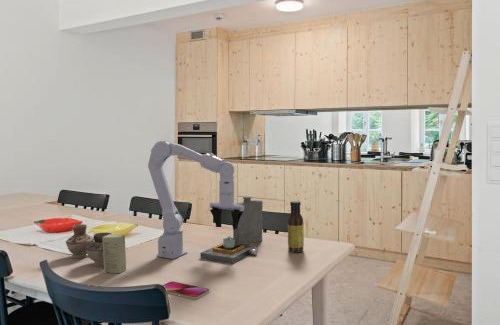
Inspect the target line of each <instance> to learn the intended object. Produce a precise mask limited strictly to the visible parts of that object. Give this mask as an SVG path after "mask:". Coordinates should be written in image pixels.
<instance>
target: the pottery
mask: <svg viewBox="0 0 500 325" xmlns="http://www.w3.org/2000/svg"><path fill="white" fill-rule="evenodd" d="M87 226H88V225H87V224H82V223H80V224H75V225H72V230H73V235H72V236H70V237H69V238H68V239H66V240H65V244H66V247H67V250H68V251H69V252H70V253H71V254H72V255H71V258H72V259H83V258H87V257H89V259H90V260H91V261H93V262H94V263H93V264H95V265H94V266H96V265H97V267H104V266H103V265H104V261H103V240H102V237H104V236H107V235H109V234H111V235H113V234H112V232H98V233H94V234H93V236H91V235H89V234H87V233H86V232H87V228H88V227H87ZM86 254H88V256H87V255H86Z"/></svg>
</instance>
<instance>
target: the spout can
mask: <svg viewBox="0 0 500 325" xmlns="http://www.w3.org/2000/svg"><path fill="white" fill-rule="evenodd" d="M222 243H223V249H226V250H234V249H235V239H234V238H233V237H231V236H227V237H225V238H223V240H222Z"/></svg>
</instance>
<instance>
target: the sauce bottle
mask: <svg viewBox="0 0 500 325" xmlns="http://www.w3.org/2000/svg"><path fill="white" fill-rule="evenodd" d="M289 204H290V214H289V216H288V218H287V246H288V252H290V253H301V252H303V251H304V246H305V244H304V241H305V240H304V236H305V234H304V217H303V216H302V214H301V201H298V200H291V201H290V202H289Z"/></svg>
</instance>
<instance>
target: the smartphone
mask: <svg viewBox="0 0 500 325" xmlns="http://www.w3.org/2000/svg"><path fill="white" fill-rule="evenodd" d="M162 285H163V286H165V288H166V289H167V293H166V294H169V293H171V294H170V295H173V294H175V296H177V295H180V296H179V297H181V296H183V297H182V298H185V297H188V298H187V299H189V298H191V299H190V300H194V299H195V300H198V298H199V299H200V298H202V297H204V296H206V295H207V294H209V293H210V289H209V288H207V287H202V286H197V285H192V284H187V283H183V282H179V281H168V282H166V283H165V284H164V283H163V284H162ZM208 292H209V293H208ZM206 293H207V294H206ZM205 294H206V295H205ZM203 295H204V296H203ZM201 296H202V297H201Z"/></svg>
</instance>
